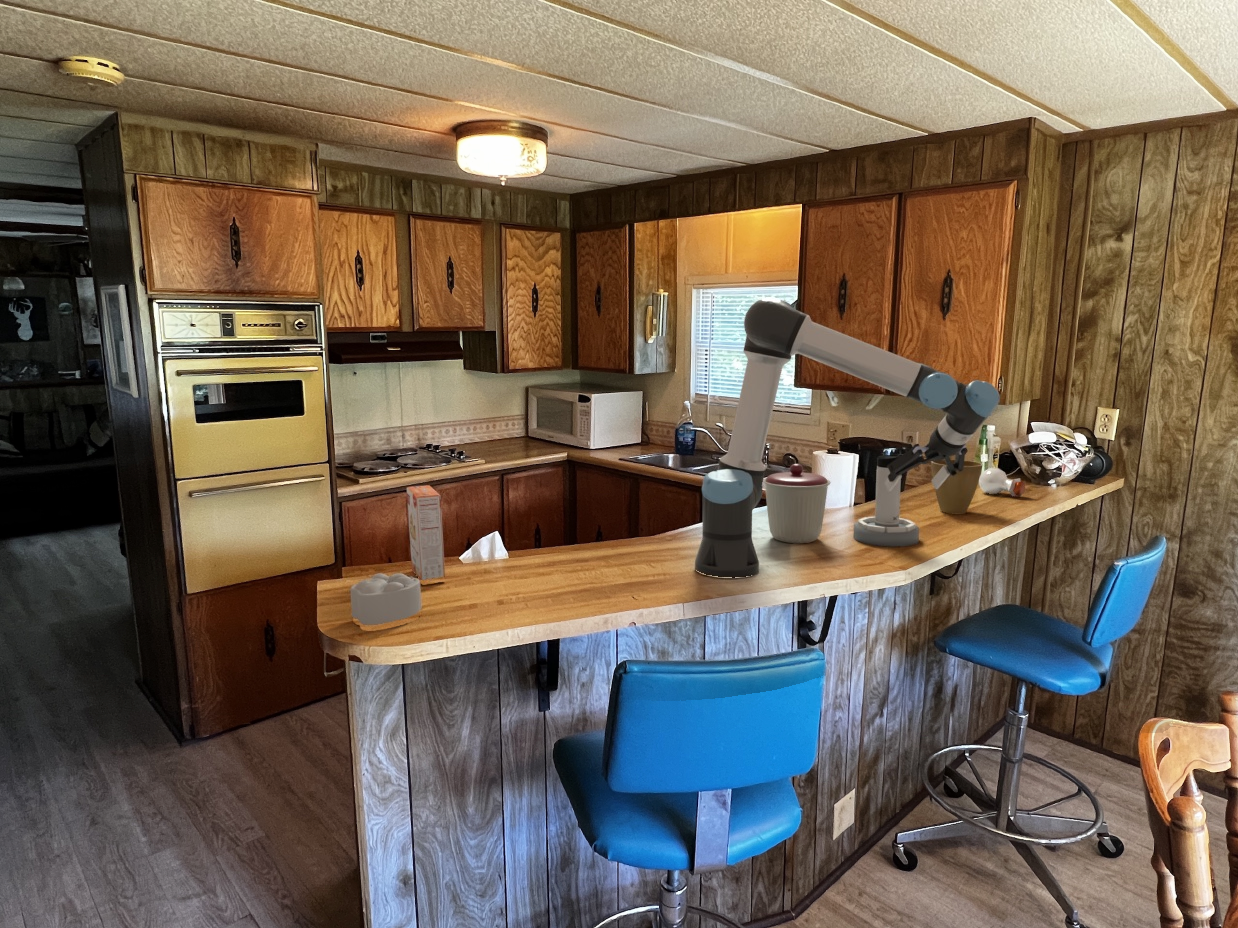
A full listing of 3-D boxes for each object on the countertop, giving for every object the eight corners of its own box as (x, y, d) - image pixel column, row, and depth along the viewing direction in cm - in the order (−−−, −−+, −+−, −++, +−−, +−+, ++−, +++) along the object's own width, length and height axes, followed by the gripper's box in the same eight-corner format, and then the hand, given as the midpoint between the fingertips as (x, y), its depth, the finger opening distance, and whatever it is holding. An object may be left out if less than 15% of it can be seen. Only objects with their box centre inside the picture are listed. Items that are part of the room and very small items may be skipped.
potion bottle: (979, 495, 279) (1019, 506, 267) (969, 482, 274) (1009, 493, 261) (991, 473, 280) (1031, 483, 268) (981, 460, 275) (1022, 470, 262)
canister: (750, 534, 218) (751, 461, 215) (806, 529, 224) (807, 457, 221) (782, 550, 201) (784, 470, 198) (842, 543, 207) (844, 466, 204)
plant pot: (949, 518, 236) (951, 466, 233) (919, 508, 250) (921, 460, 248) (990, 515, 239) (993, 464, 237) (959, 506, 254) (961, 458, 251)
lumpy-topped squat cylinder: (348, 619, 153) (345, 577, 152) (410, 605, 161) (407, 565, 160) (366, 634, 145) (364, 590, 144) (431, 619, 153) (429, 576, 152)
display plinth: (866, 547, 203) (867, 529, 202) (844, 532, 219) (845, 516, 219) (929, 545, 203) (930, 528, 203) (903, 530, 220) (903, 514, 220)
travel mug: (901, 529, 207) (904, 456, 204) (876, 528, 208) (878, 455, 206) (898, 524, 213) (901, 452, 210) (873, 523, 215) (875, 452, 212)
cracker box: (410, 571, 186) (405, 486, 183) (435, 568, 189) (431, 484, 186) (419, 586, 174) (414, 496, 171) (446, 583, 176) (441, 493, 173)
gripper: (911, 448, 177) (872, 499, 194) (1004, 445, 183) (959, 495, 199) (899, 423, 181) (862, 475, 198) (990, 421, 187) (947, 472, 204)
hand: (911, 485), depth 199 cm, fingers open, 13 cm apart
